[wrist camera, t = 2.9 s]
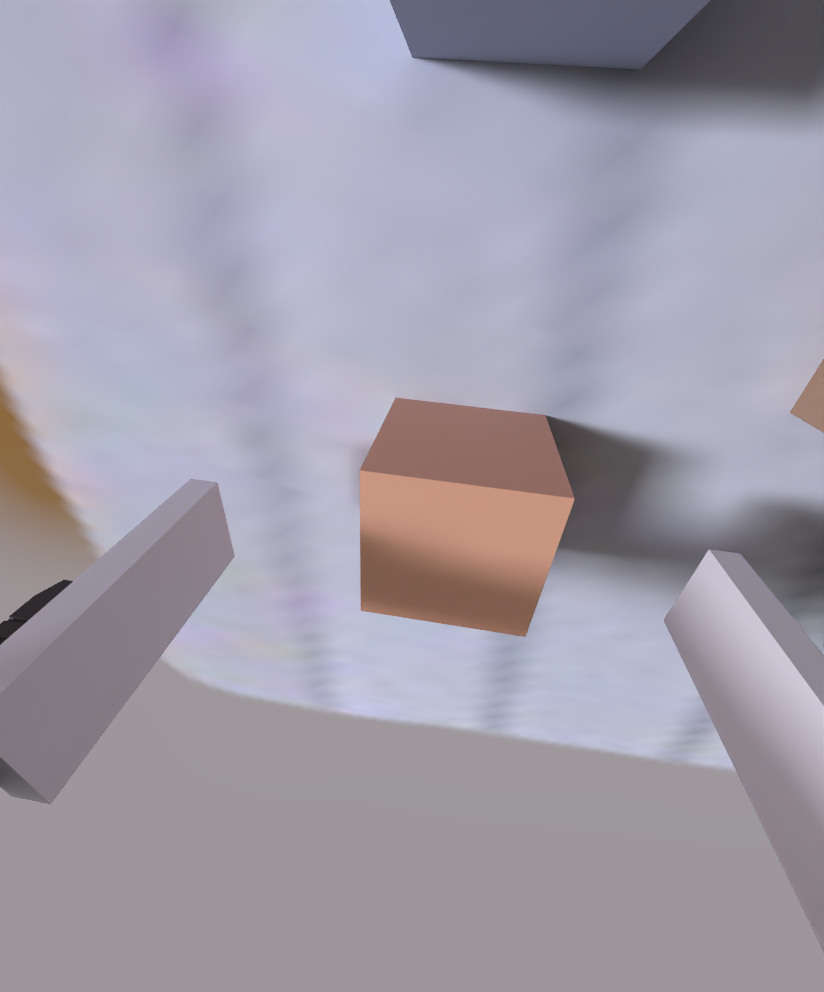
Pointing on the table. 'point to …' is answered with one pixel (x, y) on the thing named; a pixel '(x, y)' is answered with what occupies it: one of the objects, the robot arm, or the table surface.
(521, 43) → the slate rectangular block
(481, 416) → the terracotta cube
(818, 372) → the walnut cube
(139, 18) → the table surface
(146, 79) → the table surface
